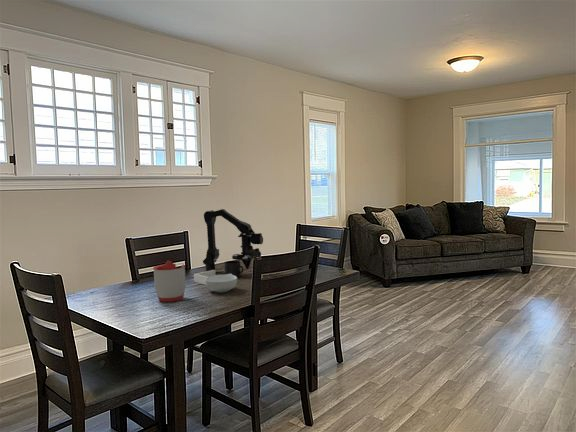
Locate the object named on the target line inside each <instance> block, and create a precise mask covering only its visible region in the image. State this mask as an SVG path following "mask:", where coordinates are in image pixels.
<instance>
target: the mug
mask: <svg viewBox="0 0 576 432" xmlns="http://www.w3.org/2000/svg"><path fill="white" fill-rule="evenodd" d="M243 272H244V267H243V266H242V265H241V261H240V260H228V261H224V275H225V274H226V275H227V274H232V275H234V276H236V277H237V279H238V278H240V277H241V275H242V273H243Z"/></svg>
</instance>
